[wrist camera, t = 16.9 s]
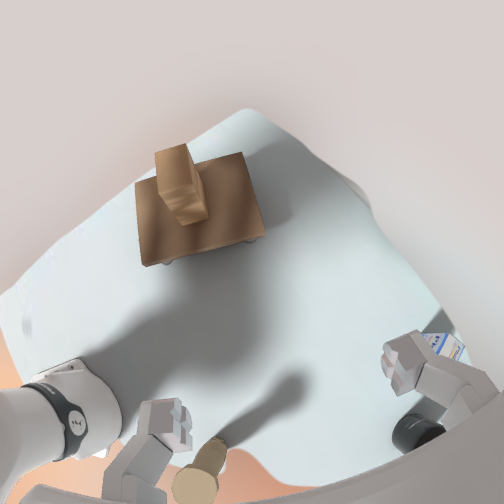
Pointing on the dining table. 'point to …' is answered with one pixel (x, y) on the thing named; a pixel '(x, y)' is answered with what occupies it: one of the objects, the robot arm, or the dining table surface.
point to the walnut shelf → (207, 231)
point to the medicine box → (445, 344)
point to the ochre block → (181, 185)
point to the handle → (201, 475)
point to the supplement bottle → (415, 432)
